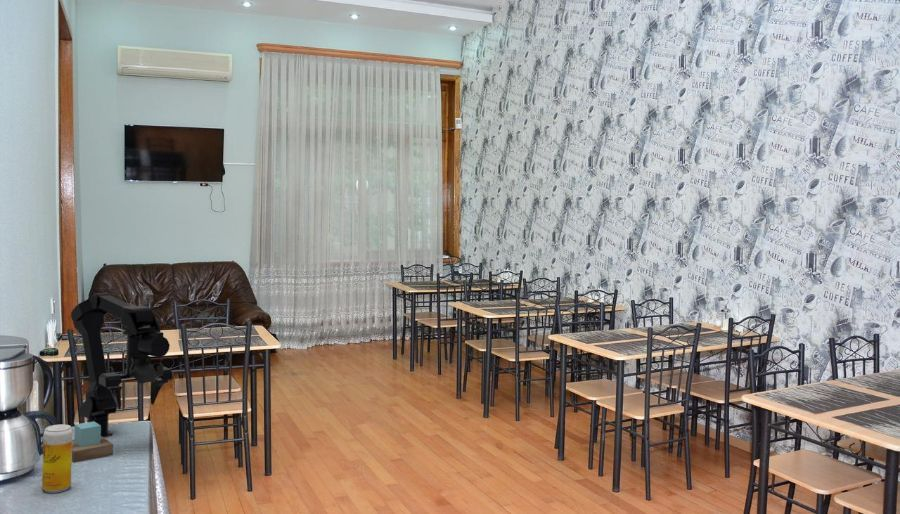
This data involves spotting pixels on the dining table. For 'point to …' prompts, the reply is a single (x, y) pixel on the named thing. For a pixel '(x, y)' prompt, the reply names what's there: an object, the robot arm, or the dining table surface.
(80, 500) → the dining table surface
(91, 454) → the walnut base
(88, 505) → the dining table surface
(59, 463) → the beer can
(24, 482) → the dining table surface
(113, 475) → the dining table surface
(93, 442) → the block
